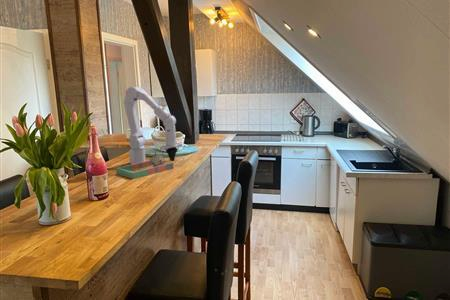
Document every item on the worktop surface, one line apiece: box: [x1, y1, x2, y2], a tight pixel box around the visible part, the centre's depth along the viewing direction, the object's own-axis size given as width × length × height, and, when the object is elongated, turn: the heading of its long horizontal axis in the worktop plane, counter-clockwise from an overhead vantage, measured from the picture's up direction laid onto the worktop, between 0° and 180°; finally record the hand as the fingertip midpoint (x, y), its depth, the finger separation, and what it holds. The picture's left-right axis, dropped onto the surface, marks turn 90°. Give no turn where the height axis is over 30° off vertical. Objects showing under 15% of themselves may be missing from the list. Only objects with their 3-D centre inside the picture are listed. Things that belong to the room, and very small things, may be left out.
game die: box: [148, 152, 167, 167], centre depth 182 cm, size 9×8×10 cm
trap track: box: [115, 159, 174, 180], centre depth 176 cm, size 16×25×3 cm, turn 138°
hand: (172, 160), depth 190 cm, fingers closed
